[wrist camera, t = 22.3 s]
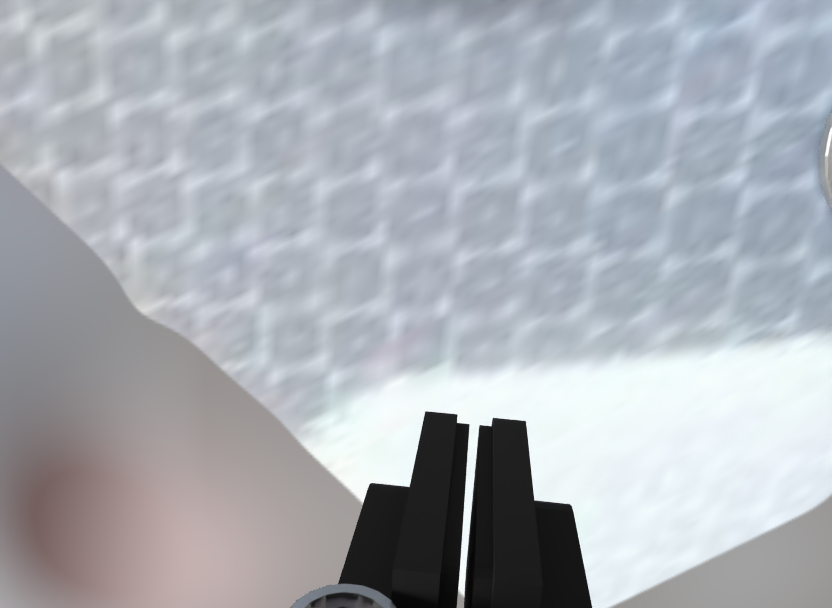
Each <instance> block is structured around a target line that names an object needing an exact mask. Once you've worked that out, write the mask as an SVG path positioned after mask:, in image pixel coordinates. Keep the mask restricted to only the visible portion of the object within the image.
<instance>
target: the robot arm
mask: <svg viewBox="0 0 832 608" xmlns="http://www.w3.org/2000/svg"><path fill="white" fill-rule="evenodd" d="M818 169H819V177H820V185H821V188H822V191H823V194H824V197H825V200H826V202H827V205H828V206H829V208H830V209H831V211H832V111H831V113H830V115H829V117H828V119H827V121H826V124H825V127H824V131H823V134H822V138H821V142H820V148H819V160H818ZM468 437H469V424H462V423H457V414H447V413H437V412H425V416H424V421H423V426H422V430H421V435H420V440H419V445H418V450H417V455H416V459H415V464H414V469H413V474H412V479H411V483H410V487H404V486H394V485H385V484H376V483H371V484H370V485H369V488H368V490H367V493H366V497H365V500H364V503H363V506H362V509H361V513H360V516H359V519H358V522H357V525H356V529H355V532H354V535H353V539H352V541H351V545H350V548H349V551H348V554H347V557H346V561H345V564H344V568H343V570H342V573H341V577H340V580H339V583H338V584H337V585H328V586H325V587H322V588H319V589H316V590H313V591H310V592H309V593H307V594H306V595H304V596H303V597H301V598H300V599H298V600H296V602H295V603H294V604H293V605H292V606H291V608H456V607H457V596H458V584H459V571H460V557H461V542H462V527H463V512H464V497H465V482H466V467H467V452H468ZM464 608H592V605H591V600H590V595H589V590H588V585H587V579H586V574H585V569H584V564H583V559H582V554H581V549H580V544H579V539H578V534H577V528H576V523H575V518H574V513H573V509H572V506H571V505H570V504H562V503H553V502H543V501H534V494H533V485H532V475H531V466H530V456H529V447H528V437H527V428H526V421H519V420H509V419H498V418H493V420H492V426H482V425H480V426H479V436H478V447H477V458H476V469H475V479H474V490H473V501H472V512H471V523H470V534H469V545H468V556H467V567H466V581H465V600H464Z"/></svg>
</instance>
